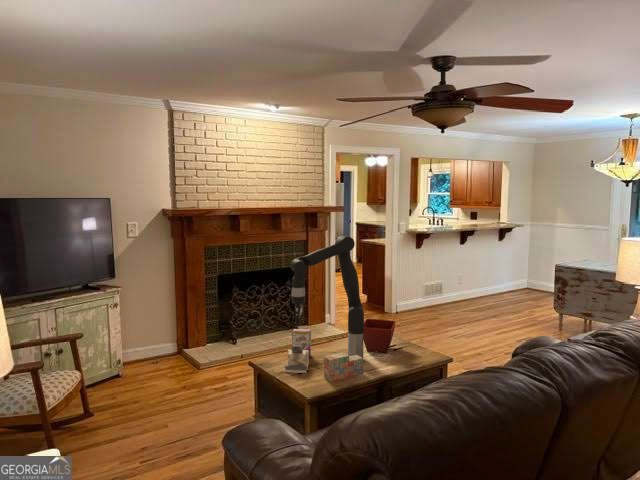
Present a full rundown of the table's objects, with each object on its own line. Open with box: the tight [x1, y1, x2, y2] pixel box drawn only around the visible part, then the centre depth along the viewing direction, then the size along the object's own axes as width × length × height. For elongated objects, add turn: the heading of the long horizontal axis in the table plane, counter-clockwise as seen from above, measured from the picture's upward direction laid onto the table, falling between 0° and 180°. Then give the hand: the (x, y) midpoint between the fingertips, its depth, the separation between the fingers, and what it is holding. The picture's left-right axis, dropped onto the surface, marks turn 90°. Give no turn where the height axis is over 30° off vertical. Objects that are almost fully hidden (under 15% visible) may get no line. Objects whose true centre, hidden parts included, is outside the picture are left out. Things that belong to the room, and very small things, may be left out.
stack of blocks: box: [323, 352, 364, 382], centre depth 255 cm, size 21×6×12 cm, turn 117°
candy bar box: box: [291, 328, 312, 358], centre depth 283 cm, size 11×5×16 cm, turn 84°
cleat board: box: [284, 349, 310, 374], centre depth 265 cm, size 12×12×9 cm
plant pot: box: [363, 318, 396, 354], centre depth 295 cm, size 19×19×17 cm
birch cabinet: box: [287, 345, 306, 366], centre depth 265 cm, size 10×5×12 cm, turn 85°
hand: (298, 322), depth 263 cm, fingers open, 8 cm apart
